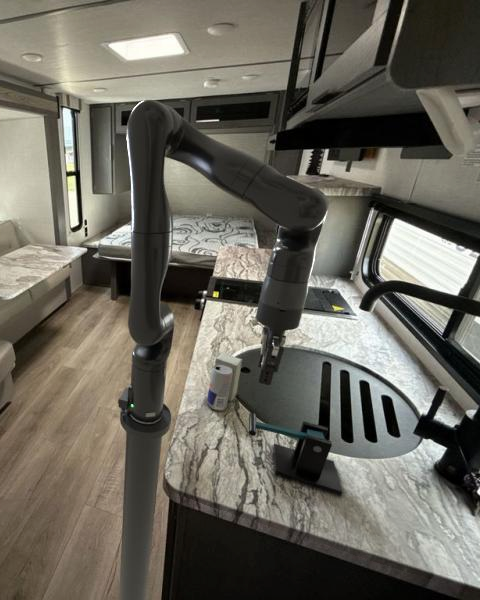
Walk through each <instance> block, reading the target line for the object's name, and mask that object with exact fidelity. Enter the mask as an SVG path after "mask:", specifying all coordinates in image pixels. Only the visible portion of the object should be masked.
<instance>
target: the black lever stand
mask: <svg viewBox="0 0 480 600" xmlns="http://www.w3.org/2000/svg"><path fill="white" fill-rule="evenodd" d="M307 429H309V430H314V431H318V432H322V433H323V435H324V439H322V438H319V437H315V436H311V435H308V434H306V436H305V439H304V440H303V439H299V438H297V439H296V443H295V447H294V448H290V447H287V446H284V445H280V444H277V443H273V447H272V449H273V462H274V475H275V476H278V477H282V478H284V479H287V480H290V481H293V482H296V483H298V484H303V485H306V486H308V487H311V488H315V489H318V490H321V491H324V492H327V493H330V494H333V495H336V496H340V497H341V496H342V495H343V488H342V485H341V481H340V479H339V475H338V472H337V468H336V465H335V461H334V460H331V459H328V457H329V455H330V451H331V448H332V446H333V443H332V440H329V439H326V436H327V435H328V430H329V429H328V427H327V426H324V425H320V424H316V423H313V422H309V421H305V420H303V421H302V424H301V428H300V431H299V432H304V433H307Z"/></svg>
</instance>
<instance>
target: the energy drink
mask: <svg viewBox="0 0 480 600" xmlns="http://www.w3.org/2000/svg"><path fill="white" fill-rule="evenodd" d="M232 375H233V372H232V368H231V367H229V366H228V365H225V364H215V363H214V365H213V366H212V369H211V373H210V379H209V385H208V391H207V397H206V405H208V407H209V408H210V409H212V410H214V411H224V410H226V409H227V407H228V402H229V400H228V396H229V391H230V386H231V381H232Z"/></svg>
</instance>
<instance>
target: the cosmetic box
mask: <svg viewBox="0 0 480 600" xmlns="http://www.w3.org/2000/svg"><path fill="white" fill-rule="evenodd" d="M242 363H243V359H242V358H239V357H236V356H233V355H230V354H228V353H224V352H221V353H219V354H218V356H216V357H215V362H214V365H215V364H225V365H228V366H229V367H231V368H232V372H233V375H232V381H231V386H230V391H229V396H228V402H232V401H233V400H234V399H235V397H236V396H237V392H238V387H239V382H240V381H239V380H240V375H241V368H242Z"/></svg>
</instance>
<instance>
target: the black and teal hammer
mask: <svg viewBox="0 0 480 600" xmlns="http://www.w3.org/2000/svg"><path fill="white" fill-rule="evenodd" d="M257 429H258V430H261V431H262V430H263V431H267V432H270V433H273V434H274V433H275V434H279V435H283V436H286V437H291V438H295V439H298V438H299V439H303V440H304V439H305V436H306V434H308V435H311V436H315V437H319V438H322V439H324V435H323V433H322V432H318V431H314V430H309V429H307V433H304V432H300V431H299V430H295V429H290V428H287V427H282V426H277V425H273V424H270V423H265V422H260V421H257V415H256V413H254V412H250V413H248V434H249V435H250V436H251V437H255V436H256V435H257Z"/></svg>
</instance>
